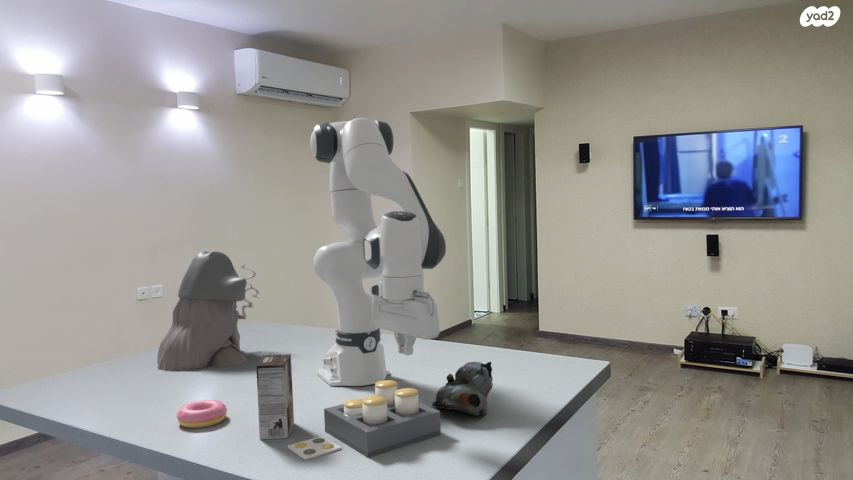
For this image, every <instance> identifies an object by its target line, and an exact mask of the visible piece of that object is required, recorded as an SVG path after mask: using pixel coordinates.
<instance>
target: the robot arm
mask: <svg viewBox="0 0 853 480" xmlns="http://www.w3.org/2000/svg"><path fill="white" fill-rule="evenodd" d="M309 144H310V150H311V152H312V155H313V157H314V158H315V159H316V161H318V162H320V163H325V164H330V170H329V192H330V193H329V195H330V204H331V215H332V220H333V222H334V223H335V224H336V225H337V226H339V227H340V228H342V229H343V230H344V232H346V234H347V236H348V239H349V241H338V242H333V243H329V244H327V245H324V246H321V247H319V248H318V249H317V250H316V252H315V255H314V257H313V264H312V265H313V270H314V273H315V274H316V275H317V277H318V278H319V279H320V280H321V281H322V282H324V283H325V284H326V285H327V286H328V288H329V289H330V290H331V293H332V294H333V297H334V299H335V302H336V307H337V320H338V330H335V331H334V332H335V344H333V345H332V347H331V348H329V350H328V351H327V352H326V353H325V356H324V357H323V359H322V360H323V365H324V367H321V368H319V369H318V370H316V374H317V375H318V376H319V377H320V378H321V379H322V380H323V381H324V382H326V384H328V385H329V386H333V387H339V386H340V387H341V386H345V387H346V386H347V387H362V386H363V387H364V386H369V385H375V383H376V382H378V381H383V380H387V376H388V375H389V374H390V369H389V368H387V366H386V358H385V349H384V346H383V345H382V344H381V343H380V342H381V336H382V335H381V334H382V333H381V329H382V330H385V331H389V332H393V333H394V334H393V335H394V338H395V341H396V343H397V346H398V347H397V348H398V351H397V352H398V353H399V354H401V355H405V356H410V355H413V354H414V345H415V343H416V339H417V338H418V339H421V340H432V339H436V338H438V337H439V335H440V333H441V332H440V331H441V330H440V319H439V314H438V313H439V312H438V308H437V305H436V302H435V299H434V298H433V297H432V295H431V294H430V293H429V292H426V291H425V280H424V277H425V276H424V275H425V274H424V270H433V269H434V268H435V267H437V266H438V265H439V264H441V262H442V260H443V259H444V257H445V255H446V252H447V246H446V240H445V237H444V234H443V233H442V231H441V230H440V229H439V227H438V226H437V224H436V223H435V221H434V220H433V218H432V216H431V215H430V211H429V210H428V208H427V207H426V204H425V202H424V200H423V198H422V196H421V194H420V192H419V190H418V188H417V186H416V185H415V183H414V181H413V179H412V178H411V176H410V174H408V173H407V172H406V171H404V170H402V169H401V168H400V167H399V166H398V165H397V164H396V163H395V162H394V161H393V159H392V158H391V156H390V155H391V154H392V152H393V149H394V144H395V139H394V133H393V130H392V127H391V126H390V125H389V123H387V122H385V121H381V120H374V121H373V120H372V119H369V118H367V117H356V118H354V119H351V120H345V121H344V120H343V121H335V122H329V121H326V122H321V123H318V124H316V125H315V126H314V128H313V129H312V132H311V135H310V141H309ZM372 196H379V197H380V198H381V197H382V198H385V199H388V200H391V201H393V202H395V203H397V204H398V205H399V206H400V208H401V209H402V210H403V211H401V210H400V211H389V212H386V213H384V214H383V215H382V216H381V219H380V220H381V221H380V225H378V226H377V223H376V221H375V216H374V214H373V206H372ZM379 277H381V280H380V281H378V282H376V283H374V284H371V285H370V287H369V293H370V294H369V293H367V292H366V291H365V289H364V285H363V280H368V279H374V278H375V279H376V278H379Z"/></svg>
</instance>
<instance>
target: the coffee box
mask: <svg viewBox="0 0 853 480" xmlns="http://www.w3.org/2000/svg"><path fill="white" fill-rule="evenodd" d="M291 355H292V354H290V353H289V354H280V353H279V354H278V353H277V354H274V353H273V354H264V355H262V357H261V358H259V359H260V360H259V361H258V362H257V364H256V367H255V368H256V370H255V371H256V386H257V407H258V409H257V411H258V429H259V430H258V431H259V440H261V441H262V440H275V439H289V438H290V436H291V432H292V429H293V426H294V424H295V417H294V416H295V413H294V393H293V390H294V389H293V374H292V356H291Z"/></svg>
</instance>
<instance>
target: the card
mask: <svg viewBox="0 0 853 480" xmlns="http://www.w3.org/2000/svg"><path fill="white" fill-rule="evenodd" d="M287 448H288V449H289V450H291V451H292V452H293V453H294V454H295V455H297V456H299V457H300V458H301V459H303V460H304V461H306V460H309V459H313V458H316V457H319V456H320V457H321V456H323V455H326V454H330V453H333V452H336V451H339V450H342V446H340V445H338V444H336V442H334V441H332V440H331V439H329V438H327V437H325V436H324V435H320V436H318V437H314V438H309V439H306V440H303V441H299V442H297V443H292V444H289V445H287Z"/></svg>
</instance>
